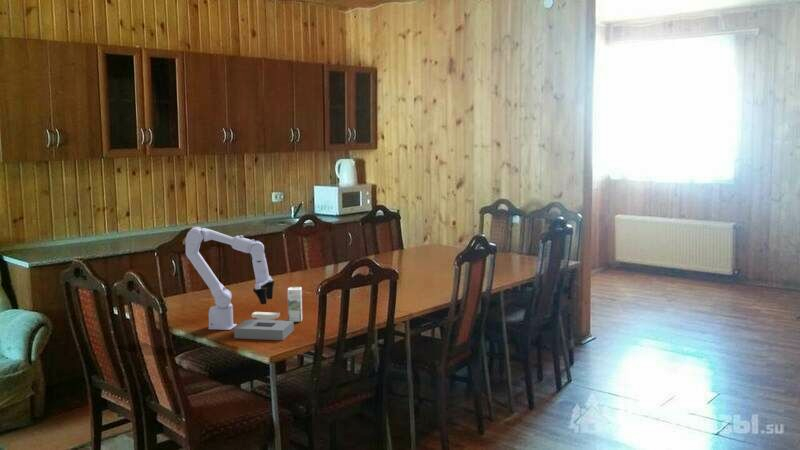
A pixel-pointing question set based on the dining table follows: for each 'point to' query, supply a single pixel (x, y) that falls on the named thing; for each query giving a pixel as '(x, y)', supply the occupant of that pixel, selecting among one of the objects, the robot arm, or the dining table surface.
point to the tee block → (265, 315)
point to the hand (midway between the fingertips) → (266, 301)
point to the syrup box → (294, 304)
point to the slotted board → (264, 329)
